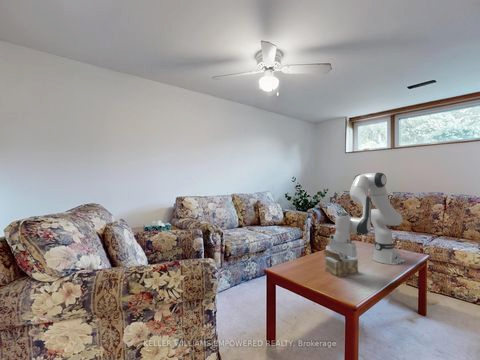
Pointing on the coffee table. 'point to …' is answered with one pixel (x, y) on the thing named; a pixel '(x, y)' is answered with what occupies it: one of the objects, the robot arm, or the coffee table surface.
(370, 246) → the coffee table surface
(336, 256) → the bar
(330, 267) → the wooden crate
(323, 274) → the coffee table surface
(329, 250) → the cup
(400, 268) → the coffee table surface
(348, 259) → the lid
